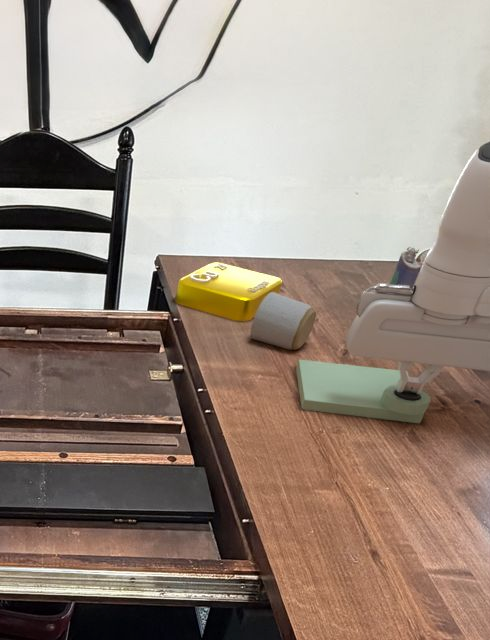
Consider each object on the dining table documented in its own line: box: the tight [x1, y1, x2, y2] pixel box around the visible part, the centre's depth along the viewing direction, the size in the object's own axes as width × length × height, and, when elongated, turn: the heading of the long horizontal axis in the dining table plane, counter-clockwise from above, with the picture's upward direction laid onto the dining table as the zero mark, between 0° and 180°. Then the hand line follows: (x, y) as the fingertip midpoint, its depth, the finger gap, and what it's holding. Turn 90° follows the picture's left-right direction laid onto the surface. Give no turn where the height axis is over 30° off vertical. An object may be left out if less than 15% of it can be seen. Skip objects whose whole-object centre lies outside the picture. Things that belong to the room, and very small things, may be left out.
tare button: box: [395, 391, 420, 401], centre depth 100 cm, size 3×3×2 cm
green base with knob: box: [295, 359, 432, 424], centre depth 105 cm, size 16×15×4 cm
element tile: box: [174, 261, 283, 322], centre depth 132 cm, size 15×15×5 cm
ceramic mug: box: [250, 292, 317, 351], centre depth 118 cm, size 11×8×8 cm
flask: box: [389, 246, 422, 286], centre depth 129 cm, size 9×3×11 cm, turn 164°
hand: (407, 391), depth 99 cm, fingers closed, pressing on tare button
